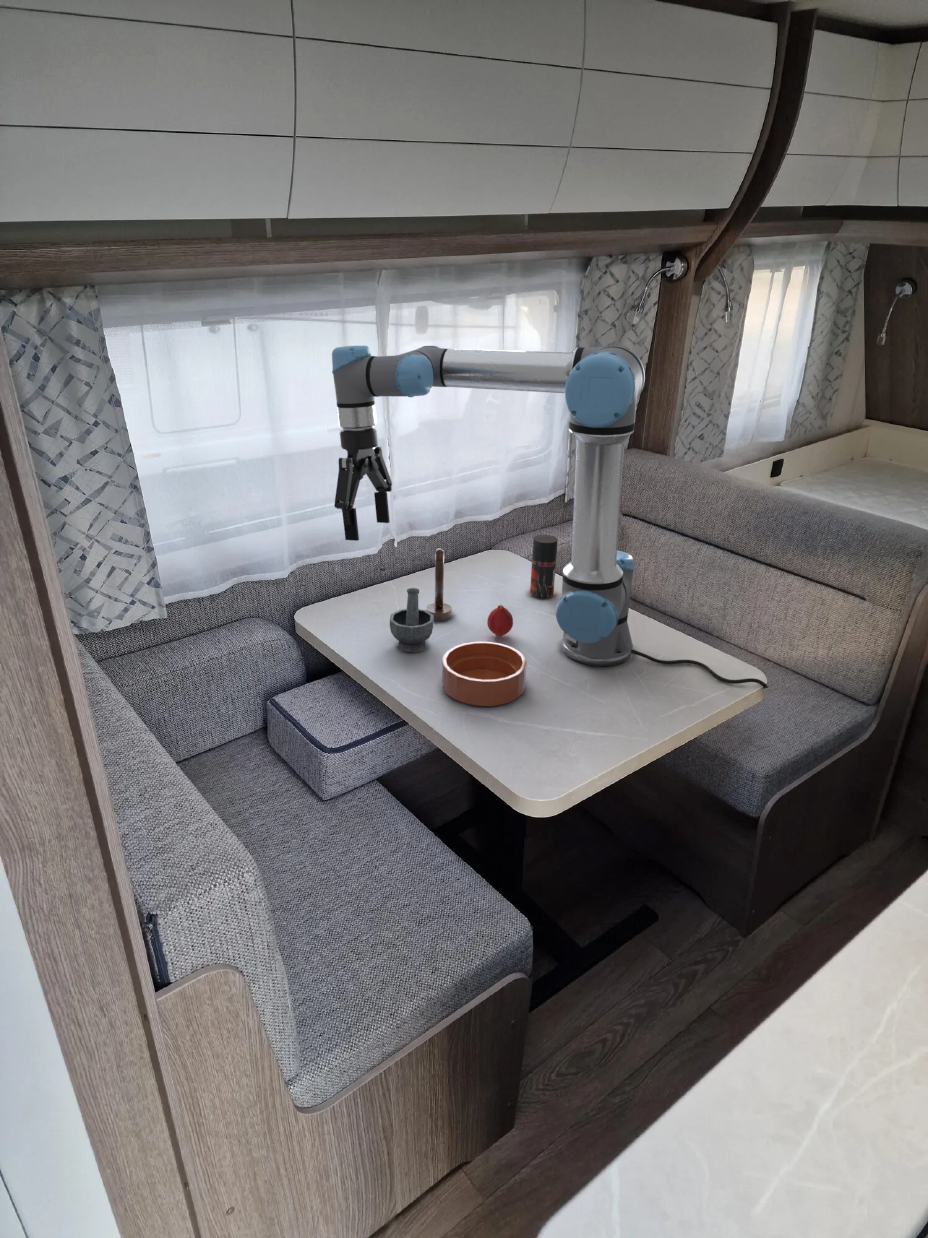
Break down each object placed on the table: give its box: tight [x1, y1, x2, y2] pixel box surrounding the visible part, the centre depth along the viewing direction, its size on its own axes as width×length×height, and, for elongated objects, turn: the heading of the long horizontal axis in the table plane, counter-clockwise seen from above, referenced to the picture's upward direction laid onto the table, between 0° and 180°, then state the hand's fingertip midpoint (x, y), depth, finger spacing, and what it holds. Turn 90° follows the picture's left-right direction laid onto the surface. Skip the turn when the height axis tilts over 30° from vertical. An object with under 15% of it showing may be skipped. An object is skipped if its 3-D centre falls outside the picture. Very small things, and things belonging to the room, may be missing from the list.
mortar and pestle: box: [389, 587, 435, 653], centre depth 178 cm, size 11×9×12 cm
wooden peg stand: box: [425, 547, 453, 622], centre depth 191 cm, size 6×6×17 cm
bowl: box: [441, 641, 528, 707], centre depth 163 cm, size 17×17×6 cm
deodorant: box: [529, 534, 559, 600], centre depth 204 cm, size 6×6×15 cm
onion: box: [486, 604, 514, 638], centre depth 183 cm, size 6×6×8 cm
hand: (368, 530), depth 170 cm, fingers open, 13 cm apart
